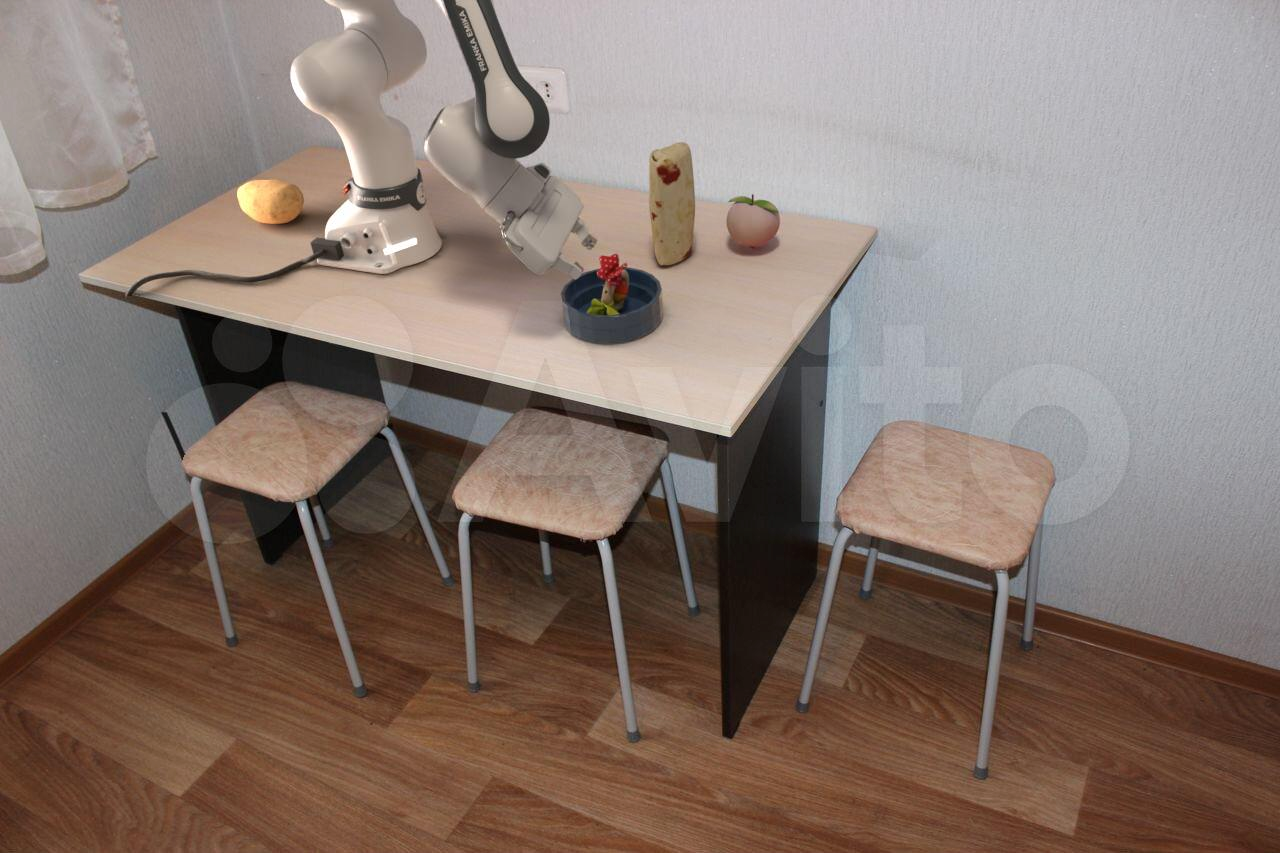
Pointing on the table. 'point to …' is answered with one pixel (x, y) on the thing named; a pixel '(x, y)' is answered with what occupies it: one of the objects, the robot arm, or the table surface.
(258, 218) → the potato
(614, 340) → the bowl
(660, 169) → the food model
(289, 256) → the table surface
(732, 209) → the decorative fruit
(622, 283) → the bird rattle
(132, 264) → the table surface
